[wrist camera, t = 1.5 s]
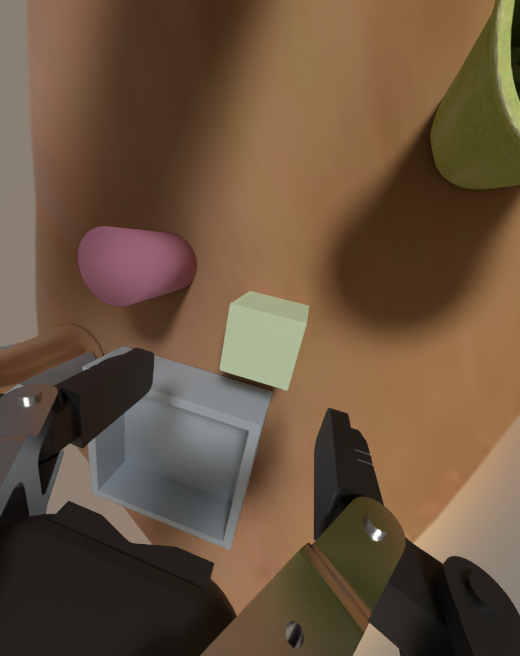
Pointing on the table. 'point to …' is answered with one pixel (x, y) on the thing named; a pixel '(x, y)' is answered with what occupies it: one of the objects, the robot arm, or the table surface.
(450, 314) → the table surface
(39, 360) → the beer glass
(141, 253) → the plum cylinder
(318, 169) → the table surface
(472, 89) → the plant pot
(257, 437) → the tub
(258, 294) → the sage block
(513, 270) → the table surface
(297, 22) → the table surface
